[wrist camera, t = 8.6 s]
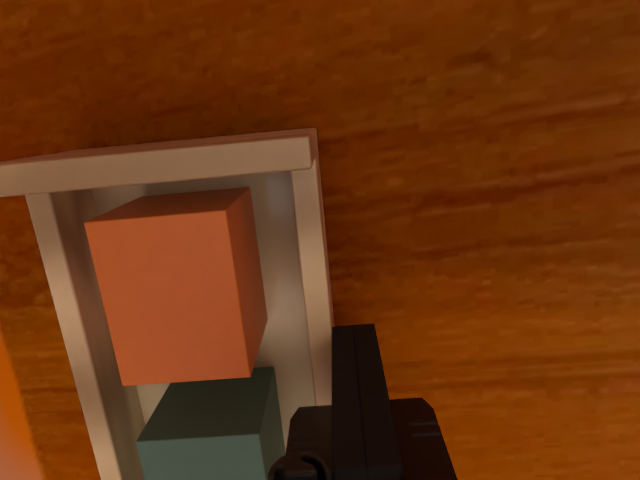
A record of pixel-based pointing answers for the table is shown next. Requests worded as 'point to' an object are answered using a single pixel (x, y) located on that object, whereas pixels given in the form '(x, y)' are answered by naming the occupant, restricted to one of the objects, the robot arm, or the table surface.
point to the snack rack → (187, 296)
